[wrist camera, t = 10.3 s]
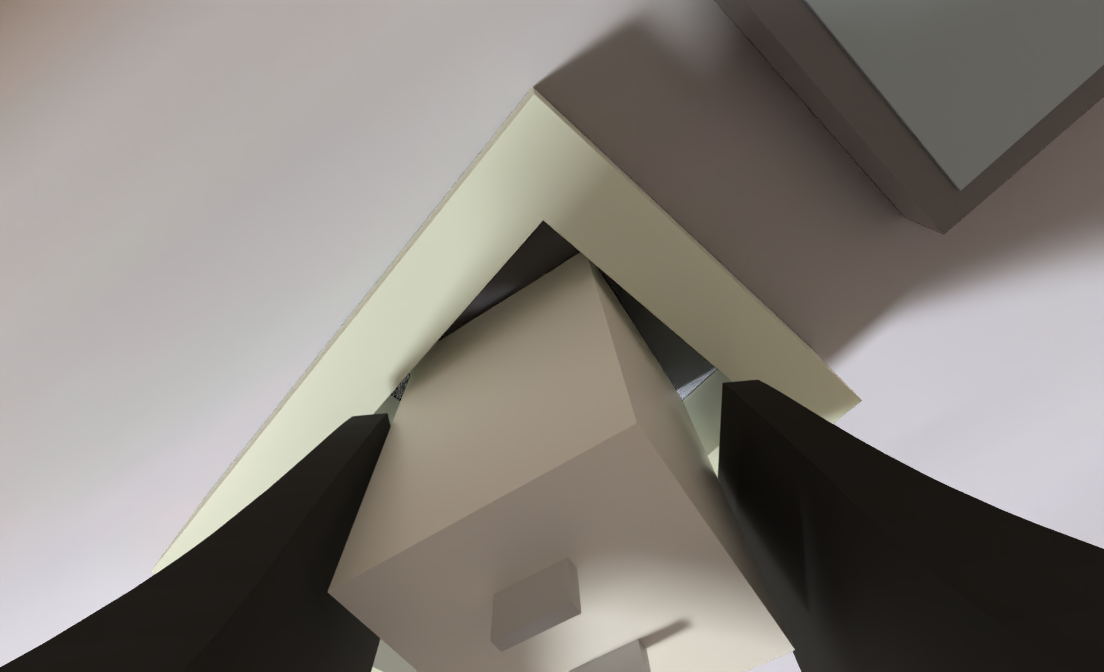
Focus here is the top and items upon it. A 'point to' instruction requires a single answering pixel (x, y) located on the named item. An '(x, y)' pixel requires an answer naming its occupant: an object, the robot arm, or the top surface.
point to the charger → (553, 506)
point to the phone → (935, 85)
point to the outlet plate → (473, 260)
